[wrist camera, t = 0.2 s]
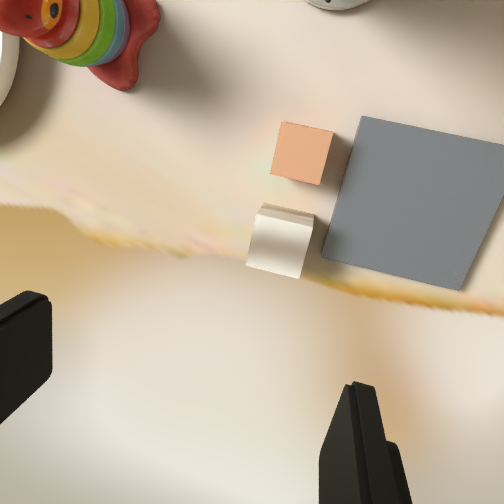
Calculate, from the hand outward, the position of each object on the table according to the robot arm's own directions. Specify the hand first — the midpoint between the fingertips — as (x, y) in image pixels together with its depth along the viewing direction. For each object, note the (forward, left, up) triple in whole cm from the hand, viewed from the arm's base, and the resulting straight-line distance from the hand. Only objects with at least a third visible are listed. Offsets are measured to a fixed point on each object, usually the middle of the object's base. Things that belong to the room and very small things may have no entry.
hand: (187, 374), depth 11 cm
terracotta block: (-4, +1, -36) cm, 36 cm away
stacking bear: (-13, -24, -36) cm, 45 cm away
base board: (-1, +15, -36) cm, 39 cm away
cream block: (+6, +1, -36) cm, 37 cm away
